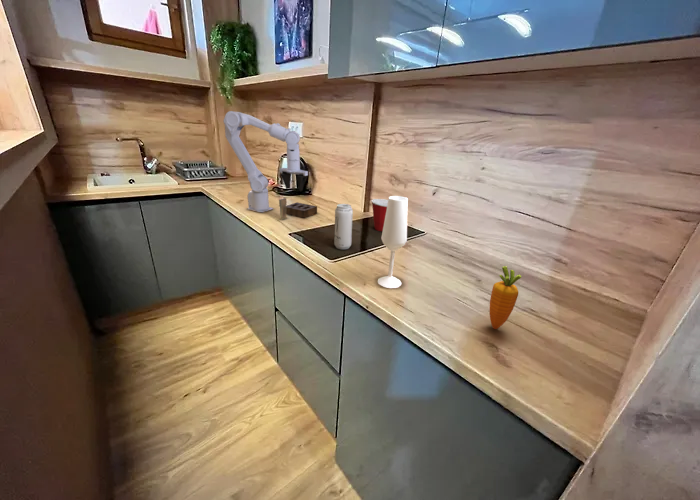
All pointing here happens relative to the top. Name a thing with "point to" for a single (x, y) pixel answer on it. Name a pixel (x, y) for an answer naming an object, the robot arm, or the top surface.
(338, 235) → the energy drink can
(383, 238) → the champagne flute
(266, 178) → the robot arm
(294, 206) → the dark wooden slotted block
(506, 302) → the carrot
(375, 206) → the plastic cup
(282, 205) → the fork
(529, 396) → the top surface
